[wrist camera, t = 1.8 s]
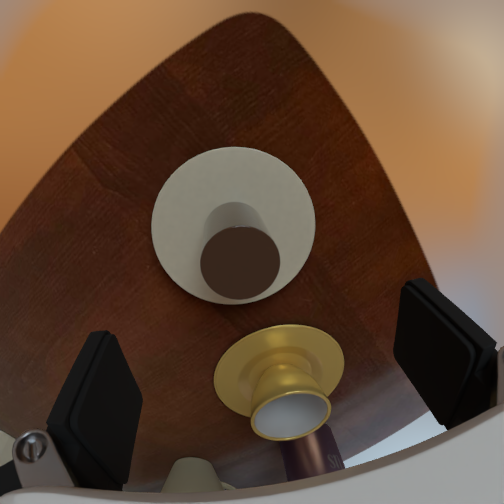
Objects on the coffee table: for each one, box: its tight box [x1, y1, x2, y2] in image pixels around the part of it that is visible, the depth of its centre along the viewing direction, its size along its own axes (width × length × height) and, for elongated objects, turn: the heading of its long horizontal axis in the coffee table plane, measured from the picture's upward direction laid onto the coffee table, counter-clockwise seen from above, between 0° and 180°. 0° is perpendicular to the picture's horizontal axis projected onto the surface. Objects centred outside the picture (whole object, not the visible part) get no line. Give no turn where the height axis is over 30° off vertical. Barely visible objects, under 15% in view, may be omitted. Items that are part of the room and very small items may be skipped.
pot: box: [0, 430, 16, 466], centre depth 26 cm, size 10×10×8 cm
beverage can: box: [279, 423, 345, 482], centre depth 24 cm, size 6×6×15 cm
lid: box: [151, 147, 315, 304], centre depth 19 cm, size 11×11×7 cm
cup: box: [214, 325, 344, 441], centre depth 25 cm, size 12×12×5 cm
